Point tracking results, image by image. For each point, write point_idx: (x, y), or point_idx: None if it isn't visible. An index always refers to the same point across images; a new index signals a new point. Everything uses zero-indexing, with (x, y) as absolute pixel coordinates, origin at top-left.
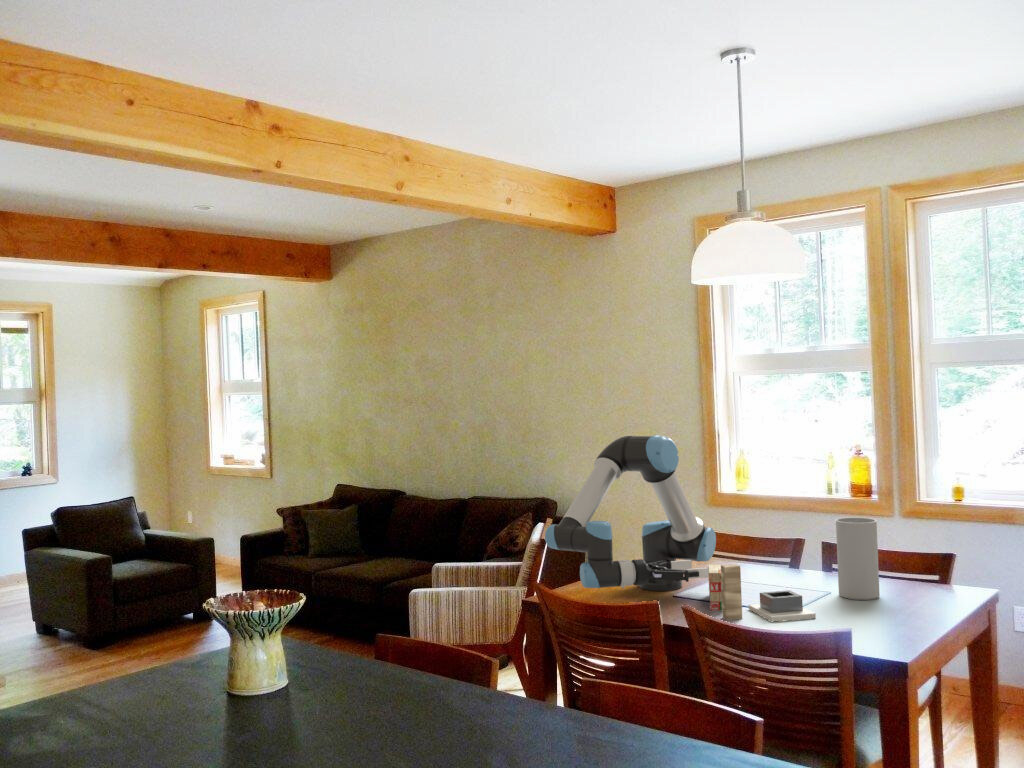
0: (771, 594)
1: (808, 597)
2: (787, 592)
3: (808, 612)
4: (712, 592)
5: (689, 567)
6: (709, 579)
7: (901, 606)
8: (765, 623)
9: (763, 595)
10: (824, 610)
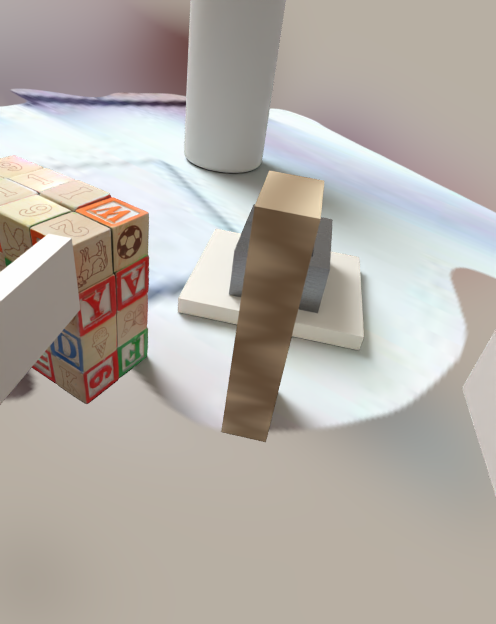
0: None
1: (169, 191)
2: None
3: (344, 260)
4: (90, 332)
5: (67, 307)
6: None
7: (321, 169)
8: (366, 371)
9: None
10: None
